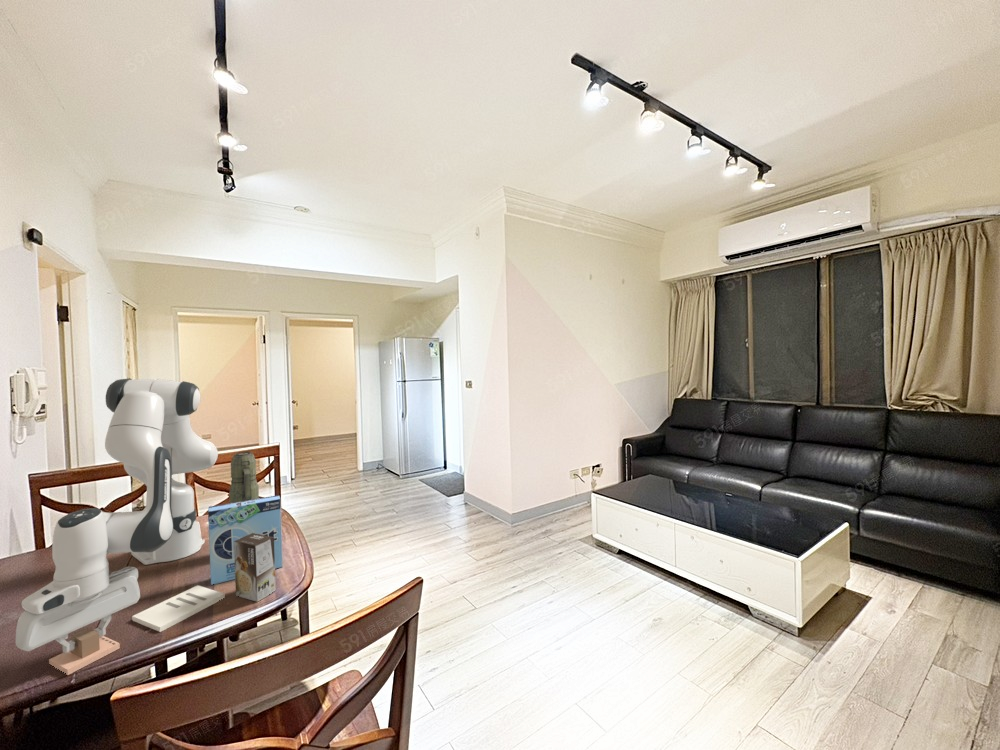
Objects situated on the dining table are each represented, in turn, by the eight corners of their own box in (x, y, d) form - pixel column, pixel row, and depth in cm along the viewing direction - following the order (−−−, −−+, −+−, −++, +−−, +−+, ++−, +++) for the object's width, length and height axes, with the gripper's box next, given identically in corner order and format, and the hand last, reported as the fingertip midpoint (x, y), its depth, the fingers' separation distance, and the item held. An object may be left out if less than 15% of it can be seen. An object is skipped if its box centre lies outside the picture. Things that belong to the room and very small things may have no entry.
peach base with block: (49, 664, 91) (48, 641, 91) (101, 639, 100) (100, 618, 100) (67, 675, 88) (66, 651, 88) (119, 648, 97) (119, 626, 96)
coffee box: (277, 590, 121) (275, 536, 120) (257, 602, 115) (255, 545, 114) (254, 584, 124) (253, 532, 124) (234, 596, 118) (232, 540, 118)
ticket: (132, 620, 107) (132, 615, 107) (197, 589, 122) (197, 584, 122) (160, 632, 102) (160, 626, 102) (224, 598, 117) (224, 593, 117)
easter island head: (237, 561, 139) (235, 458, 138) (225, 551, 146) (223, 453, 145) (266, 551, 146) (263, 453, 145) (253, 542, 153) (250, 449, 152)
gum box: (281, 561, 138) (279, 494, 138) (282, 568, 134) (281, 498, 134) (210, 578, 128) (208, 505, 127) (210, 586, 124) (207, 510, 123)
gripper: (130, 560, 104) (132, 614, 105) (10, 604, 85) (13, 670, 86) (144, 565, 102) (146, 620, 102) (24, 611, 83) (27, 678, 83)
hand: (84, 643), depth 94 cm, fingers open, 4 cm apart
